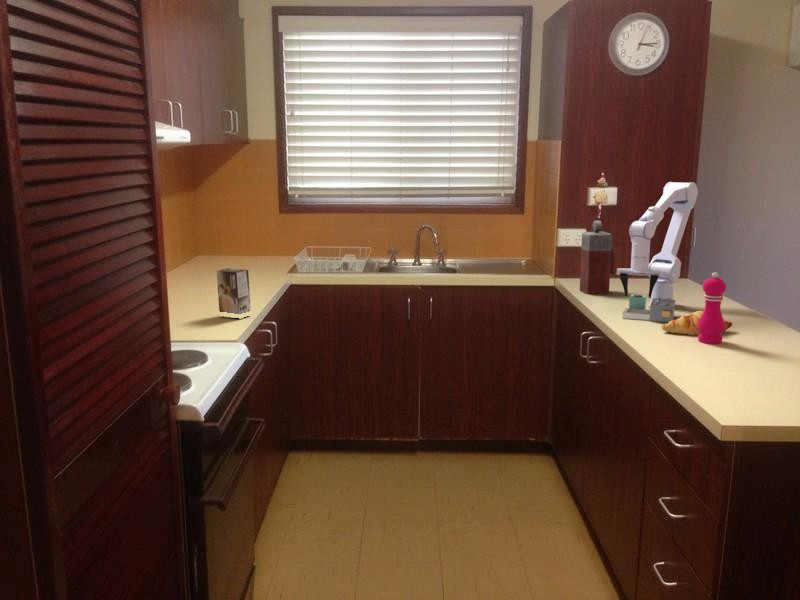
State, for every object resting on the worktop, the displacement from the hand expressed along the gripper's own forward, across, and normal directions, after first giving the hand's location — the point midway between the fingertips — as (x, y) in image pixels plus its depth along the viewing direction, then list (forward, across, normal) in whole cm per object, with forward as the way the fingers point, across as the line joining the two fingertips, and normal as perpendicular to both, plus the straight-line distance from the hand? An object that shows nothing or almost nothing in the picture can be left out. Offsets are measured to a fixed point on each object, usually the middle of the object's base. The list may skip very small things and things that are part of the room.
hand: (637, 296), depth 241 cm
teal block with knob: (+5, 0, 0) cm, 5 cm away
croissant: (+6, +19, -23) cm, 31 cm away
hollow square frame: (+5, +4, -9) cm, 11 cm away
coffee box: (+6, -125, -56) cm, 137 cm away
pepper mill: (+6, +23, -34) cm, 41 cm away
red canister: (+5, -18, +32) cm, 37 cm away
